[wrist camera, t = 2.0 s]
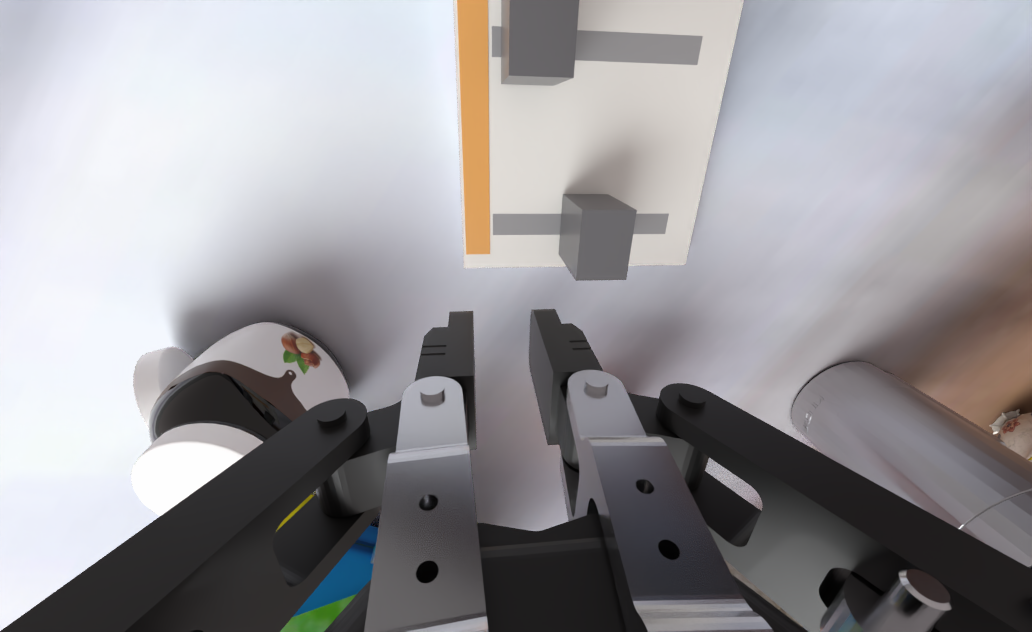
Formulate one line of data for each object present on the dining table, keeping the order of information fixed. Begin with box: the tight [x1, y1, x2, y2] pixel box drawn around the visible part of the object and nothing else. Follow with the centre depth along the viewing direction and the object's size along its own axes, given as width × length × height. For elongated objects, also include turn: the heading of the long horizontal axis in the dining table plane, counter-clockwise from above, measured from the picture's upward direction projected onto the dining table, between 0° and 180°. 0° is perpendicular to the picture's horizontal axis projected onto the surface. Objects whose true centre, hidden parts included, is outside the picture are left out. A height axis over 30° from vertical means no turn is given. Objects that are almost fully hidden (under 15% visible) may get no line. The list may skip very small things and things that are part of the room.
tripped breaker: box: [559, 194, 637, 281], centre depth 24 cm, size 3×4×5 cm
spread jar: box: [131, 322, 350, 516], centre depth 26 cm, size 12×11×12 cm
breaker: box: [501, 0, 579, 86], centre depth 19 cm, size 3×4×5 cm
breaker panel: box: [453, 0, 744, 268], centre depth 25 cm, size 16×16×2 cm
